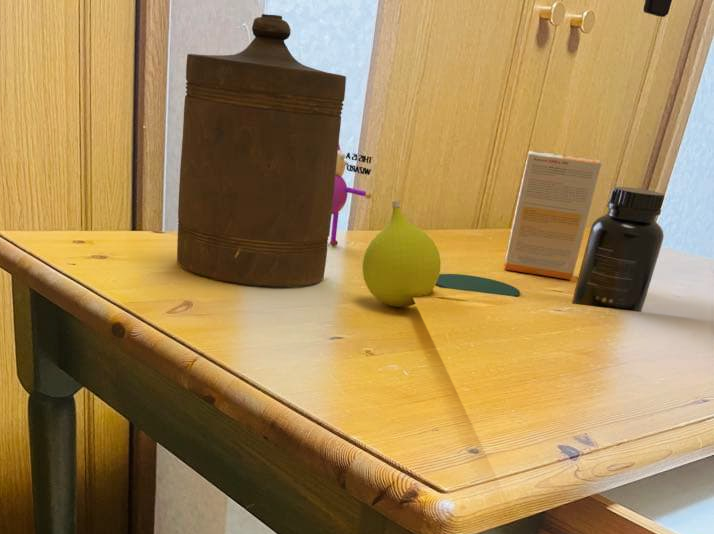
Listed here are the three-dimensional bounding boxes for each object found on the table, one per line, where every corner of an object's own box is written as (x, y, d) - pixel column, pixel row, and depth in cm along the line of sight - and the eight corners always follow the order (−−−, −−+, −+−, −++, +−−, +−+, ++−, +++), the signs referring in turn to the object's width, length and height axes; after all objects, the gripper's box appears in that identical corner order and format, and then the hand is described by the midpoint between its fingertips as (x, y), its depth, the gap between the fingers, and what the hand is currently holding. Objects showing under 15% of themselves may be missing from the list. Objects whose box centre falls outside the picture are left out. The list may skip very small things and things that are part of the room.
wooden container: (273, 252, 94) (295, 22, 83) (352, 286, 84) (389, 29, 73) (151, 253, 86) (157, -1, 75) (221, 290, 76) (241, 3, 65)
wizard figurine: (369, 253, 100) (386, 143, 94) (353, 255, 98) (369, 142, 92) (298, 234, 106) (310, 128, 100) (282, 235, 104) (292, 127, 98)
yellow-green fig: (363, 291, 82) (379, 182, 77) (434, 303, 81) (455, 193, 77) (352, 307, 76) (369, 189, 71) (429, 320, 75) (452, 202, 70)
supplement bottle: (575, 303, 89) (608, 182, 83) (641, 317, 87) (680, 194, 81) (563, 315, 84) (597, 186, 78) (633, 330, 81) (674, 199, 76)
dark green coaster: (509, 282, 95) (509, 280, 95) (528, 302, 87) (529, 300, 87) (425, 271, 95) (425, 269, 95) (437, 291, 86) (437, 289, 86)
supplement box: (569, 274, 104) (600, 159, 98) (571, 281, 100) (603, 162, 94) (503, 263, 105) (528, 148, 99) (502, 269, 101) (528, 151, 95)
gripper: (920, -238, 62) (820, 30, 70) (704, -212, 73) (640, 18, 81) (882, -275, 58) (781, 17, 66) (659, -240, 69) (596, 6, 77)
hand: (703, 17), depth 74 cm, fingers open, 9 cm apart
